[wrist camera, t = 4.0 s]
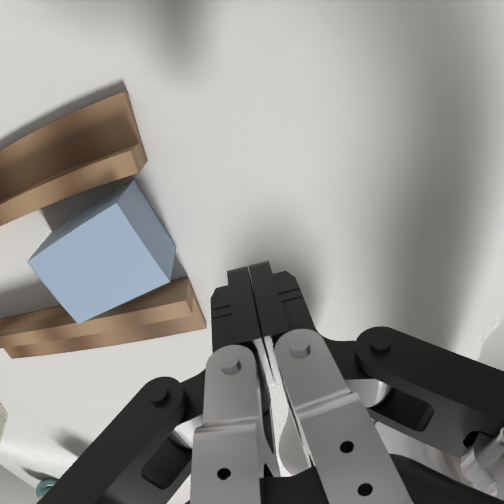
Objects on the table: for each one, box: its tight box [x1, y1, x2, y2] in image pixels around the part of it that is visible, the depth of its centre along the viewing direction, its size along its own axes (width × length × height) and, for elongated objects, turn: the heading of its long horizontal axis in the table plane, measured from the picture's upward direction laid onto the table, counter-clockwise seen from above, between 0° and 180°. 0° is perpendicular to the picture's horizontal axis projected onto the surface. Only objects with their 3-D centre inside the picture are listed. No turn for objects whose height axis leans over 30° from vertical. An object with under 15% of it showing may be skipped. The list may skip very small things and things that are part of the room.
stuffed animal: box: [36, 479, 58, 500], centre depth 41 cm, size 11×7×12 cm
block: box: [27, 180, 176, 324], centre depth 17 cm, size 7×5×4 cm
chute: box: [0, 91, 206, 359], centre depth 18 cm, size 20×16×2 cm
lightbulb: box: [279, 406, 309, 476], centre depth 22 cm, size 6×6×11 cm
